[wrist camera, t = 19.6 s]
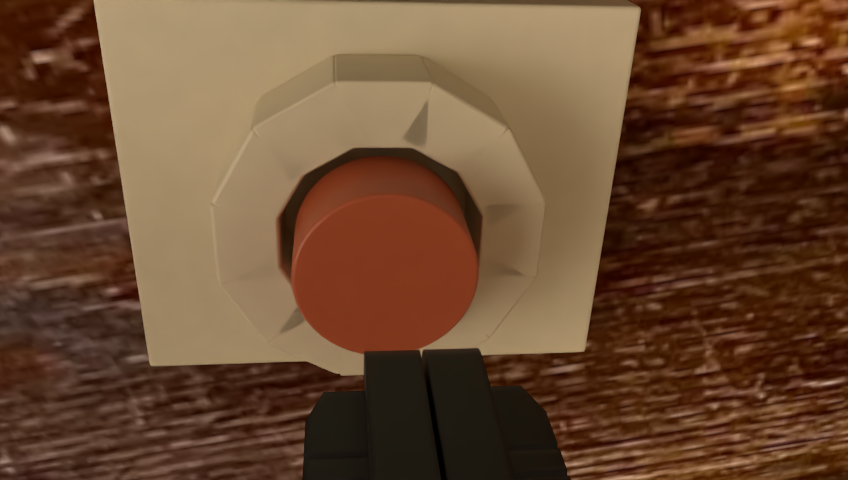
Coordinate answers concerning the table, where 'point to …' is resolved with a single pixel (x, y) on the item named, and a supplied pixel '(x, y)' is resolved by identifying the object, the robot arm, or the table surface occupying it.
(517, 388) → the robot arm
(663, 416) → the table surface
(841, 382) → the table surface
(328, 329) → the red button
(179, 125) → the push button box
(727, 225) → the table surface
